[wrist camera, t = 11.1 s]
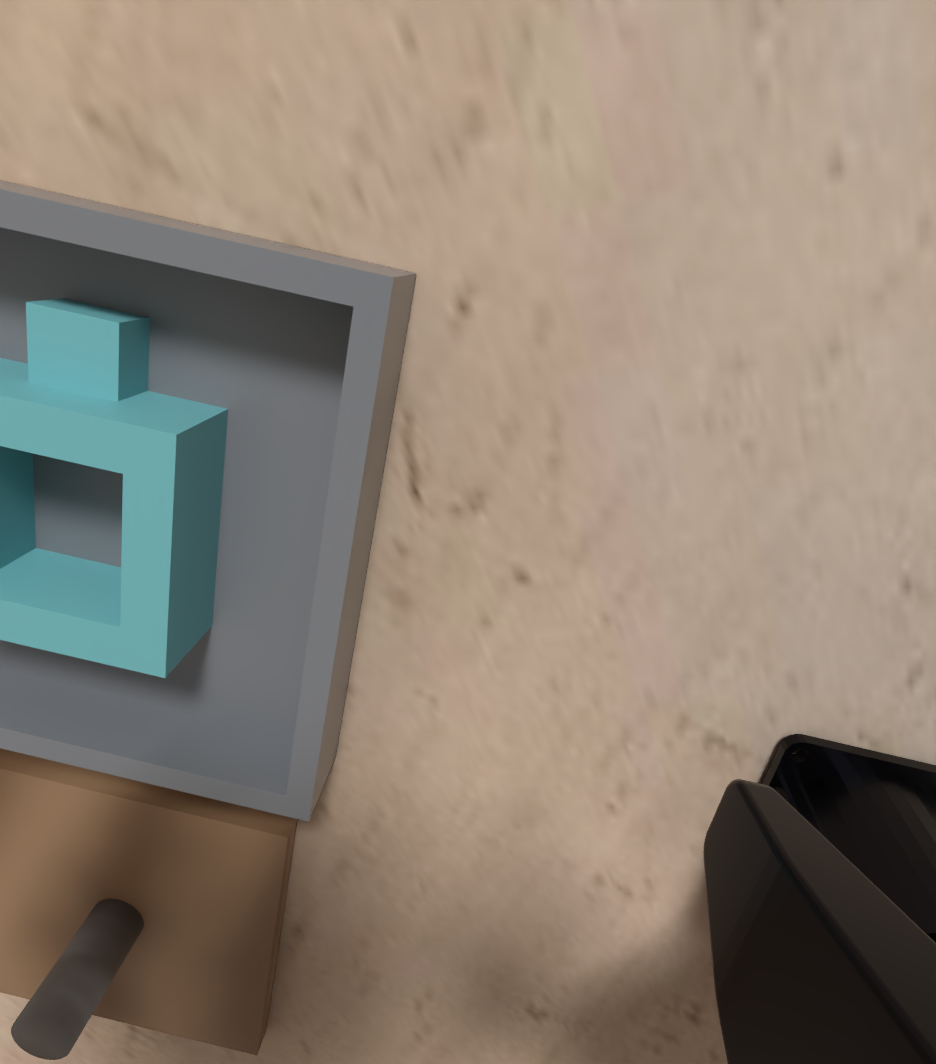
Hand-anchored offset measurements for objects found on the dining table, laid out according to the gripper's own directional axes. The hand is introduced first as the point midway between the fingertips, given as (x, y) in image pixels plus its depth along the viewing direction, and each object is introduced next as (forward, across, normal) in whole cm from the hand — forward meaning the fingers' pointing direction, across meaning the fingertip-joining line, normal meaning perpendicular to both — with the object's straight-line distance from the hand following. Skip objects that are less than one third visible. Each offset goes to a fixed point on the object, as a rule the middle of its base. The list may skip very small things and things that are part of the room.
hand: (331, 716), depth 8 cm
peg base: (+13, +9, +21) cm, 26 cm away
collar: (+12, +10, +4) cm, 16 cm away
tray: (+13, +10, +4) cm, 17 cm away
